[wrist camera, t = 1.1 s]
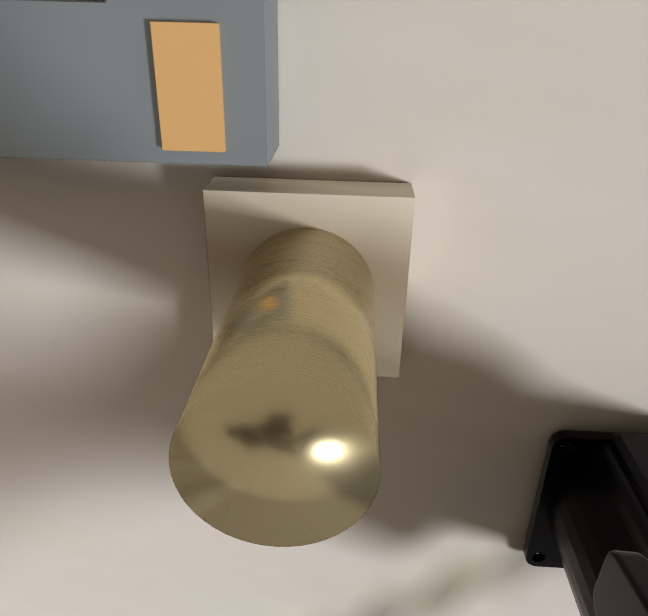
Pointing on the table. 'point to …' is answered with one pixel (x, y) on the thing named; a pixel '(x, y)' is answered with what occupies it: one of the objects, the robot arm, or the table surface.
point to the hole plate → (140, 80)
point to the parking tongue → (321, 213)
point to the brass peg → (286, 399)
